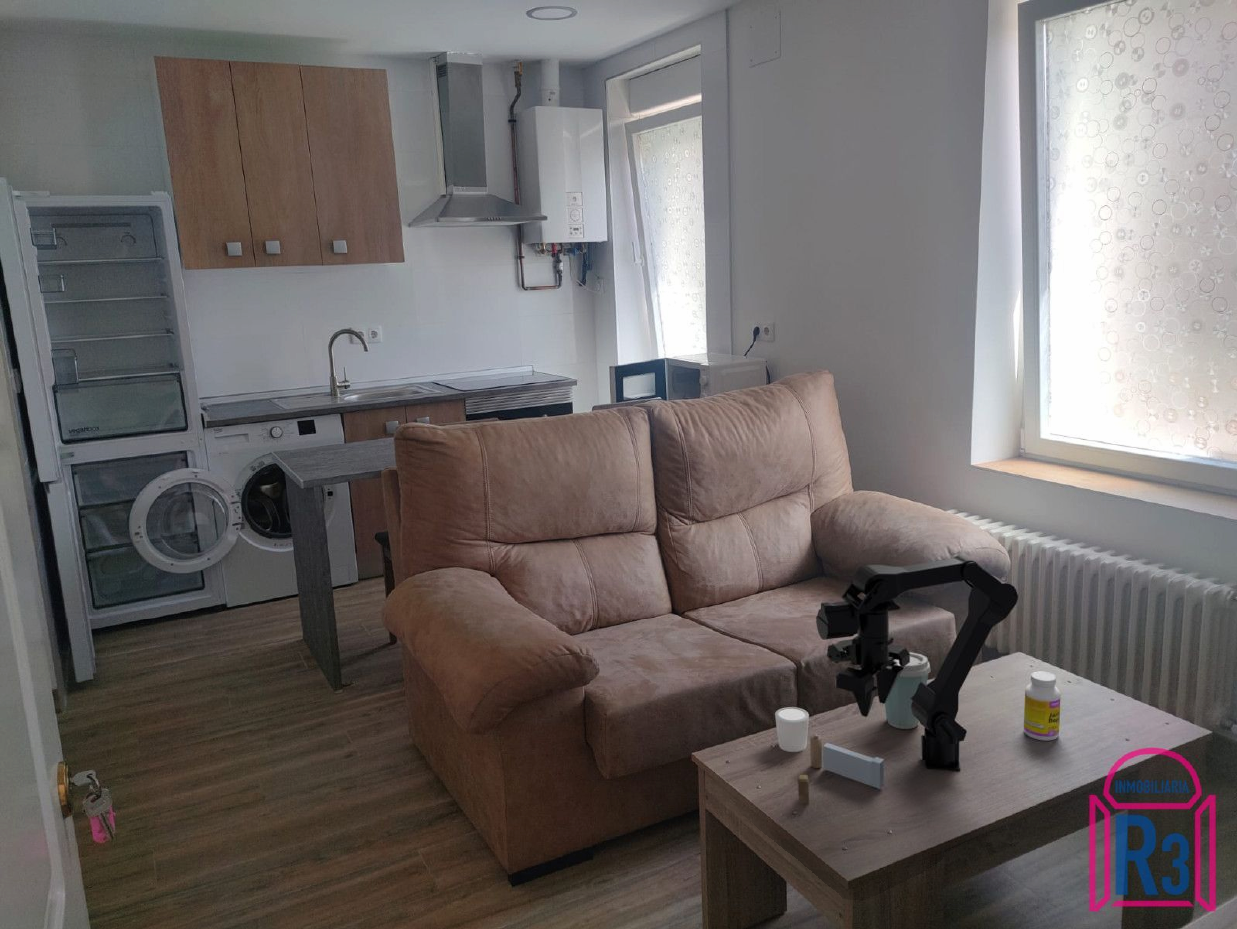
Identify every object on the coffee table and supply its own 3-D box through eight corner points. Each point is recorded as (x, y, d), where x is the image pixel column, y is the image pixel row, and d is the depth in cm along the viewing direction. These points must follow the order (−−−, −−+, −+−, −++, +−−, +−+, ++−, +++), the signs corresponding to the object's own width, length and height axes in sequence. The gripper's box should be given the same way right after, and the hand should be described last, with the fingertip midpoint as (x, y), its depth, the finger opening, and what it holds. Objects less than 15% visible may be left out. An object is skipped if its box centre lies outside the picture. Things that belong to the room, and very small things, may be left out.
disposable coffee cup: (867, 719, 201) (867, 654, 198) (903, 706, 206) (903, 643, 203) (904, 739, 192) (904, 671, 189) (941, 725, 197) (941, 658, 194)
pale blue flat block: (808, 765, 183) (808, 735, 182) (814, 761, 184) (814, 731, 183) (878, 790, 173) (878, 759, 171) (884, 785, 174) (884, 754, 173)
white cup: (809, 754, 188) (808, 722, 186) (775, 752, 189) (774, 721, 188) (809, 738, 194) (808, 707, 193) (776, 736, 196) (775, 705, 194)
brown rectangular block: (808, 799, 172) (808, 774, 171) (808, 804, 170) (808, 779, 169) (799, 798, 172) (798, 774, 171) (798, 804, 170) (798, 779, 169)
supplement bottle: (1050, 745, 186) (1052, 685, 184) (1017, 734, 191) (1019, 676, 188) (1064, 733, 190) (1067, 675, 188) (1032, 723, 195) (1034, 666, 193)
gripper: (859, 610, 187) (859, 682, 190) (809, 638, 173) (811, 716, 176) (911, 621, 179) (911, 696, 182) (863, 652, 166) (863, 732, 169)
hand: (873, 709), depth 178 cm, fingers open, 7 cm apart
